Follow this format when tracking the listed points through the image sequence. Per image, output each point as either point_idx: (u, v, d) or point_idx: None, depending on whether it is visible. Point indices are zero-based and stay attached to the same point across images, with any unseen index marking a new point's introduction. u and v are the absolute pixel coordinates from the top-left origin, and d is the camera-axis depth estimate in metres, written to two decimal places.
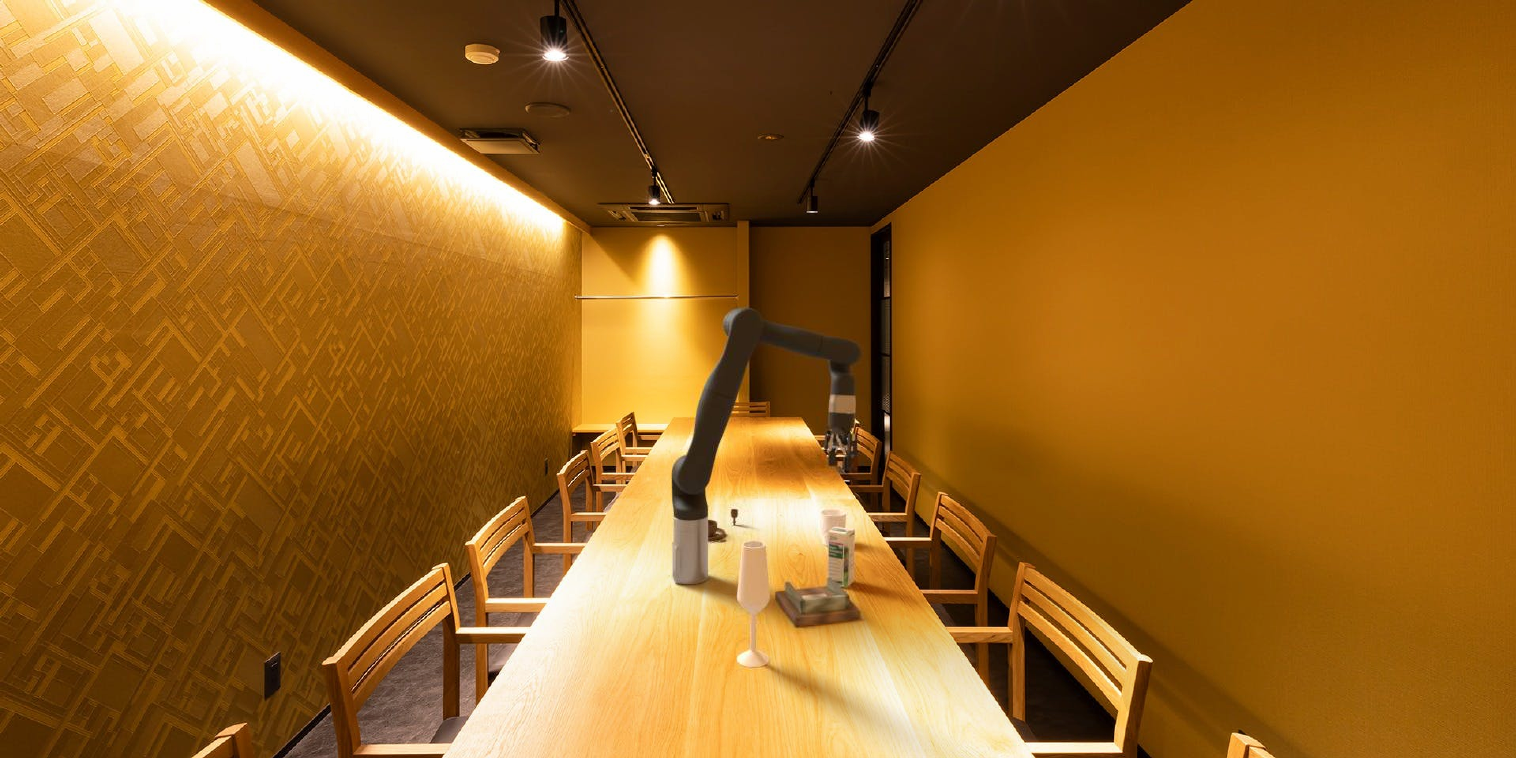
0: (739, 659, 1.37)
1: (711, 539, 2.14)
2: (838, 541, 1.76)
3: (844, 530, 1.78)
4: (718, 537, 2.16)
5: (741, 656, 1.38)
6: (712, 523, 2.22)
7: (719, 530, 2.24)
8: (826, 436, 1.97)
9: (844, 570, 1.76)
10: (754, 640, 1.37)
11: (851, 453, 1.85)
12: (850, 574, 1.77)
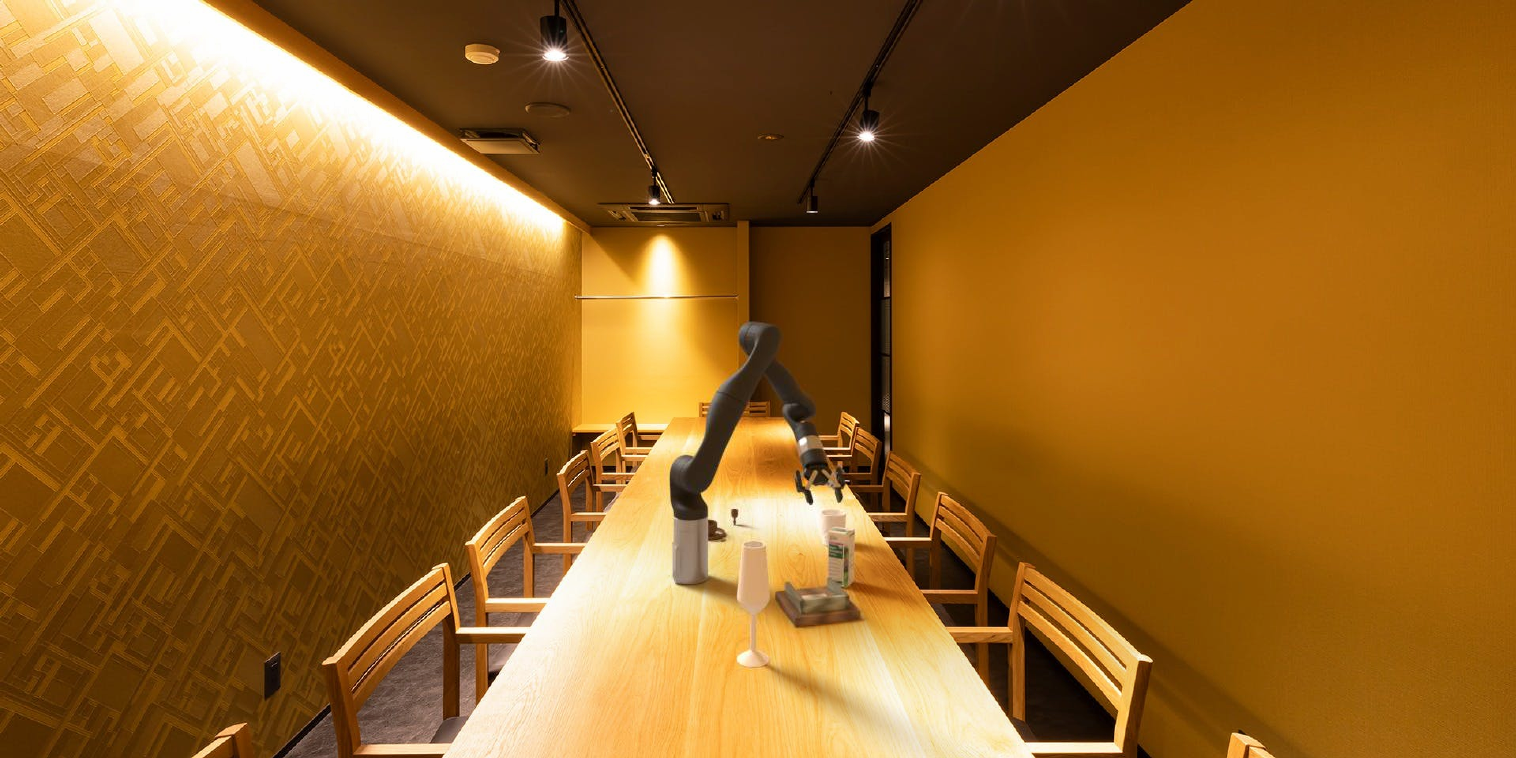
0: (739, 659, 1.37)
1: (711, 539, 2.15)
2: (838, 541, 1.76)
3: (844, 530, 1.78)
4: (718, 537, 2.16)
5: (741, 656, 1.38)
6: (712, 523, 2.23)
7: (719, 530, 2.24)
8: (799, 476, 1.92)
9: (844, 570, 1.76)
10: (754, 640, 1.37)
11: None
12: (850, 574, 1.77)
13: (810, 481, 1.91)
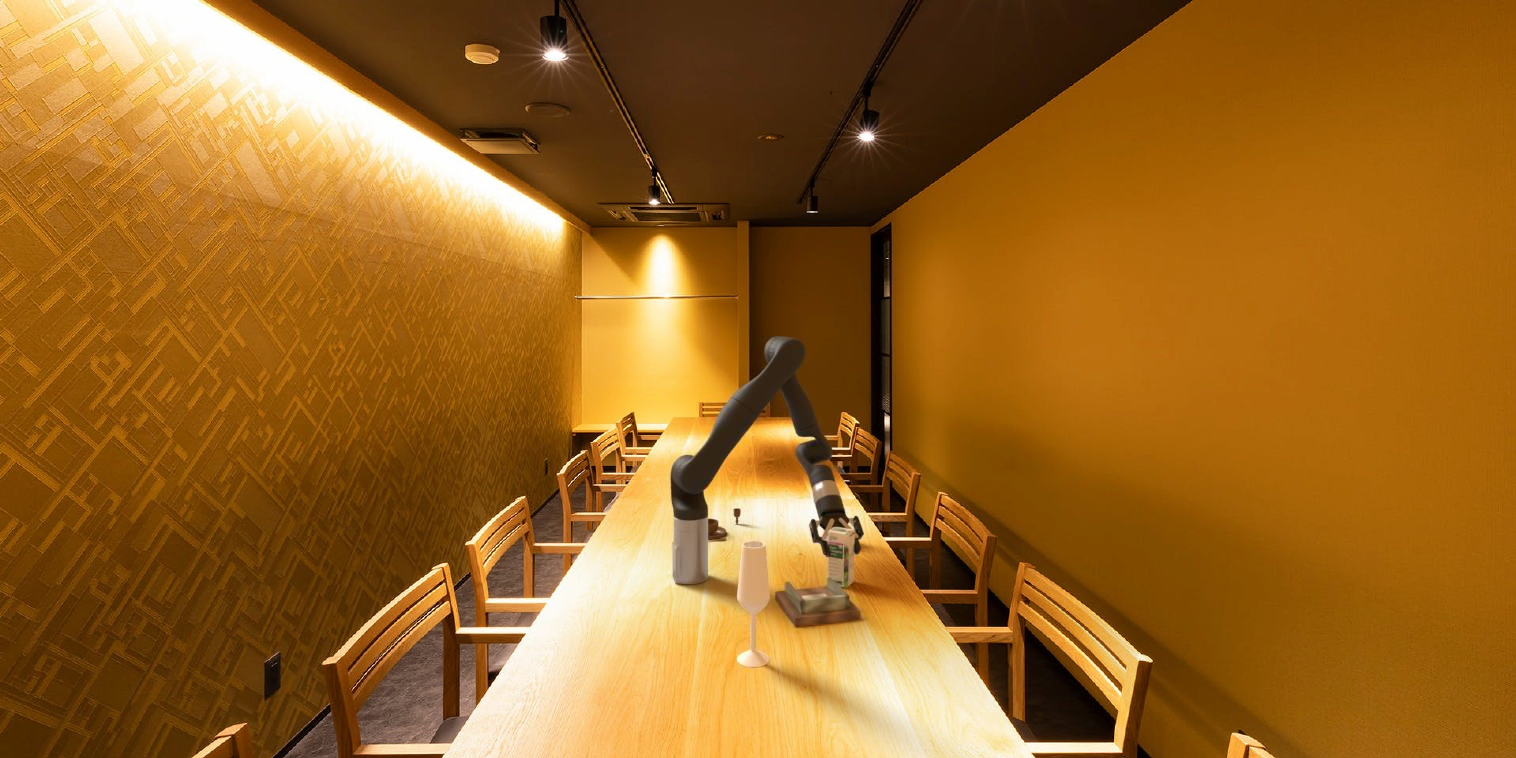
0: (739, 659, 1.37)
1: (711, 538, 2.15)
2: (838, 541, 1.76)
3: (844, 530, 1.78)
4: (719, 536, 2.17)
5: (741, 656, 1.38)
6: (714, 522, 2.23)
7: (721, 529, 2.25)
8: (815, 525, 1.80)
9: (845, 570, 1.75)
10: (754, 640, 1.37)
11: None
12: (850, 574, 1.77)
13: (827, 531, 1.79)
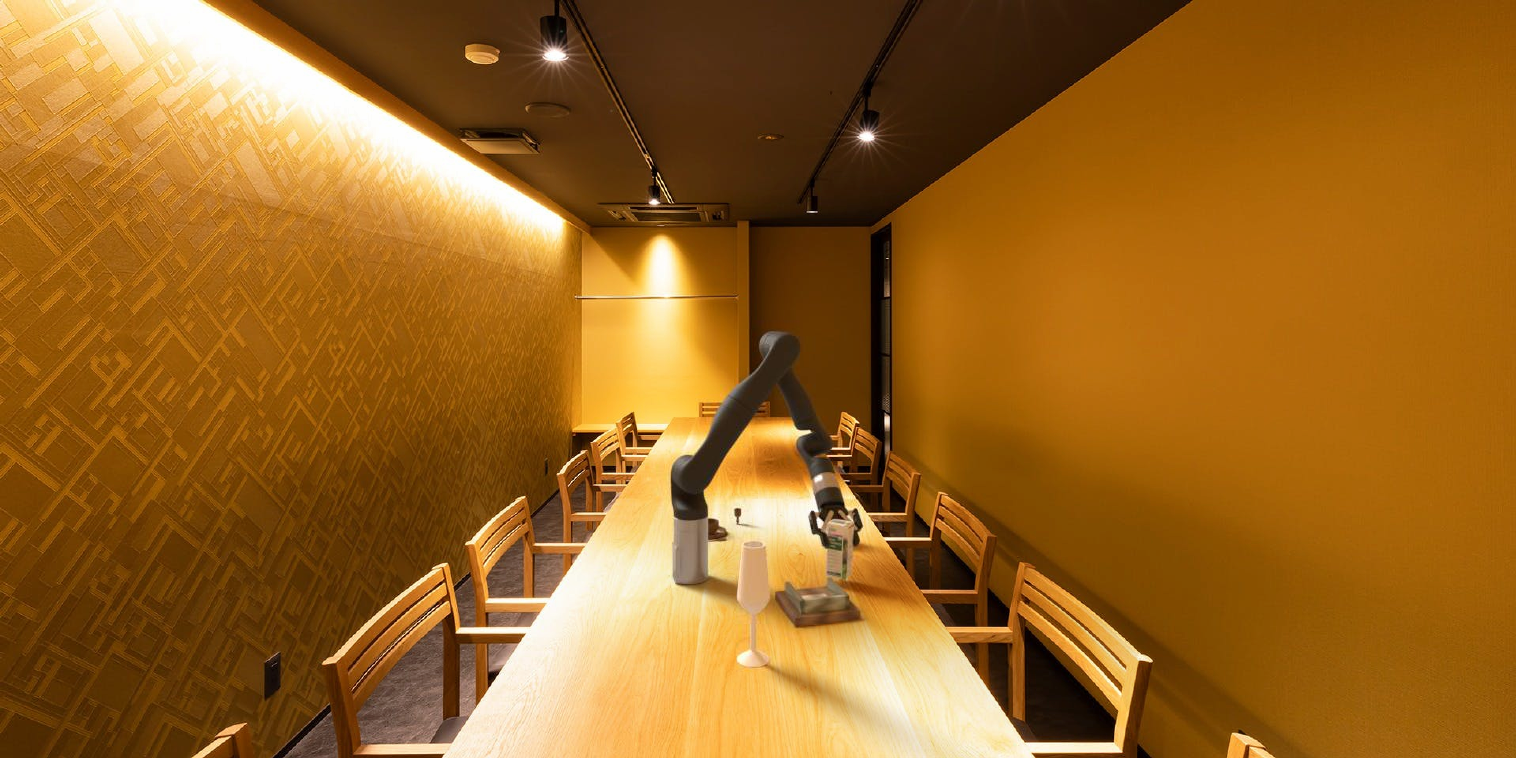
0: (739, 659, 1.37)
1: (712, 537, 2.16)
2: (837, 533, 1.76)
3: (843, 522, 1.78)
4: (719, 536, 2.17)
5: (741, 656, 1.38)
6: (714, 522, 2.24)
7: (721, 529, 2.25)
8: (814, 517, 1.80)
9: (843, 562, 1.75)
10: (754, 640, 1.37)
11: None
12: (848, 566, 1.77)
13: (826, 523, 1.79)
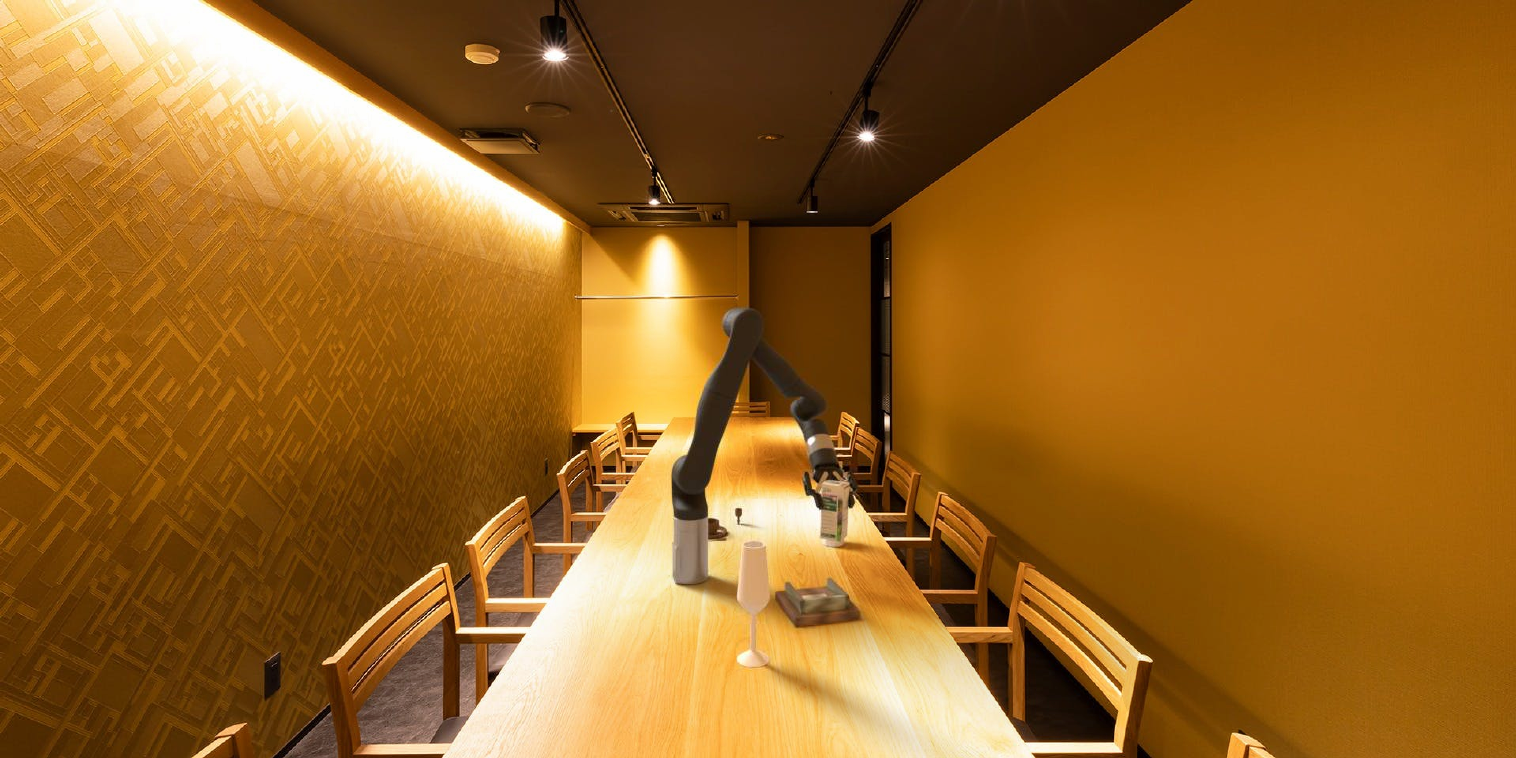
0: (739, 659, 1.37)
1: (712, 537, 2.16)
2: (832, 493, 1.71)
3: (838, 482, 1.73)
4: (719, 535, 2.17)
5: (741, 656, 1.38)
6: (715, 521, 2.24)
7: (722, 529, 2.25)
8: (808, 478, 1.75)
9: (838, 523, 1.70)
10: (754, 640, 1.37)
11: None
12: (843, 528, 1.72)
13: (820, 484, 1.74)
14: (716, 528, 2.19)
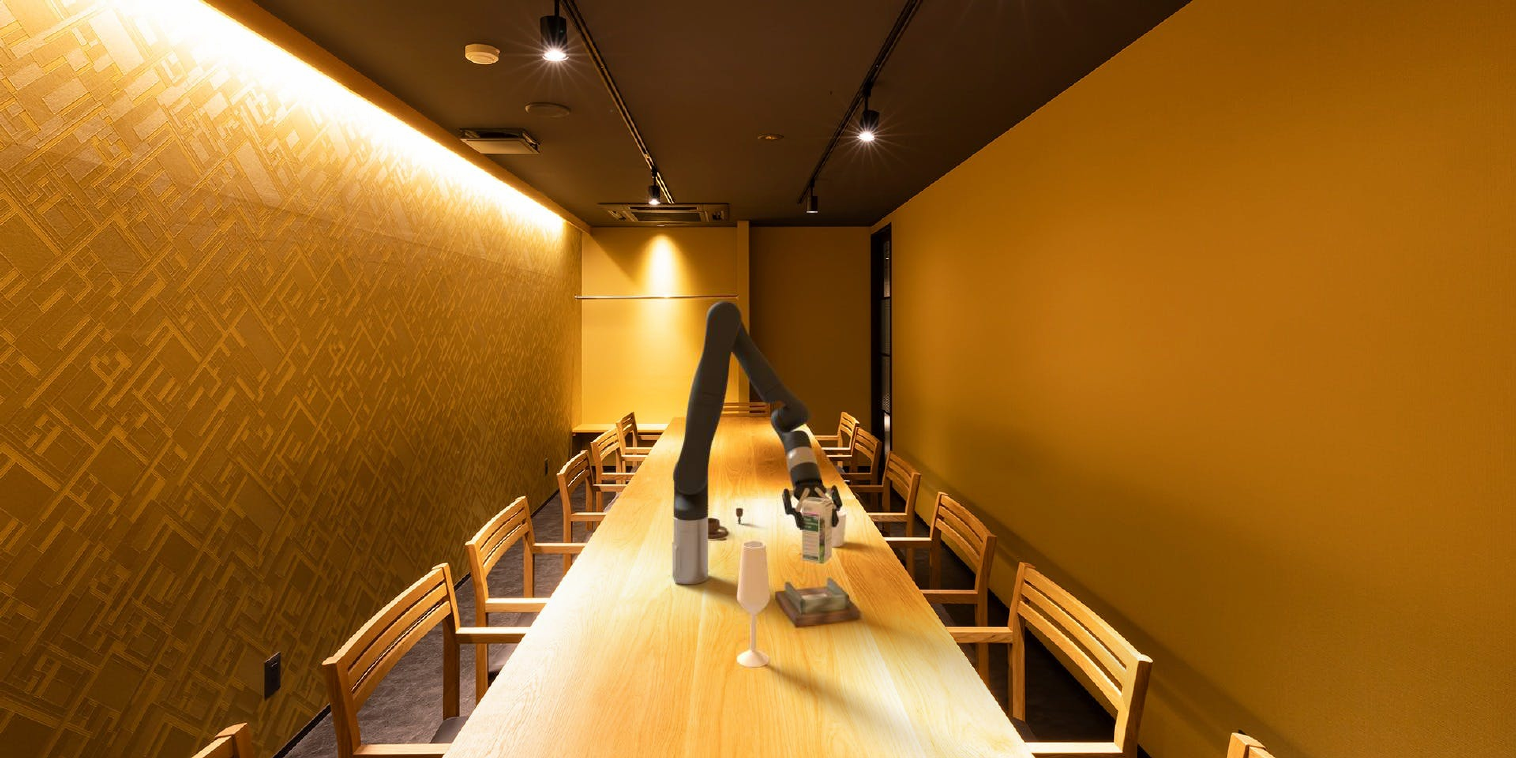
0: (739, 659, 1.37)
1: (712, 537, 2.16)
2: (813, 512, 1.58)
3: (820, 500, 1.60)
4: (719, 535, 2.18)
5: (741, 656, 1.38)
6: (715, 521, 2.24)
7: (722, 528, 2.25)
8: (788, 495, 1.63)
9: (820, 544, 1.58)
10: (754, 640, 1.37)
11: None
12: (826, 549, 1.60)
13: (801, 501, 1.62)
14: (716, 528, 2.20)
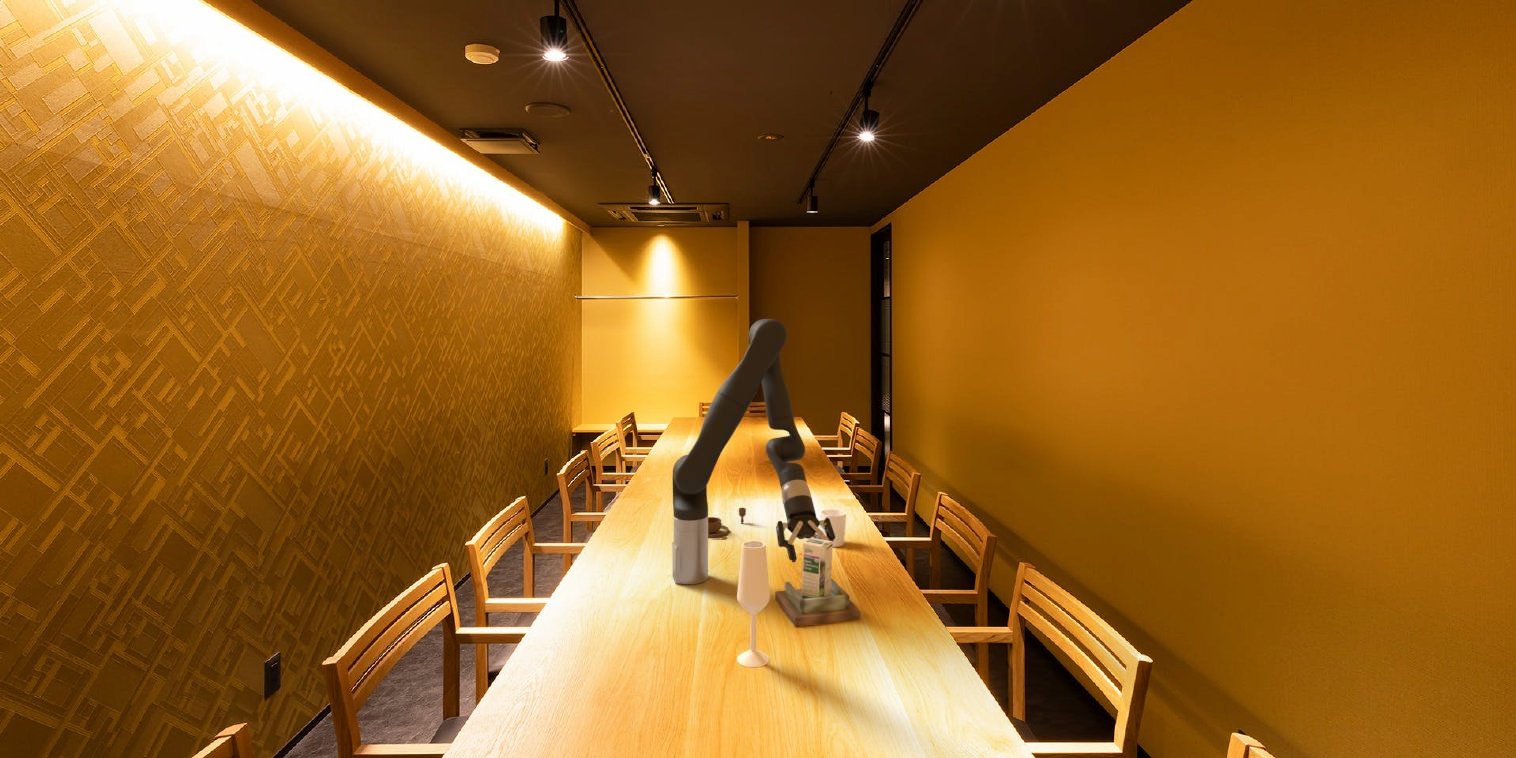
0: (739, 659, 1.37)
1: (713, 536, 2.17)
2: (814, 554, 1.59)
3: (821, 542, 1.61)
4: (720, 535, 2.18)
5: (741, 656, 1.38)
6: (717, 521, 2.25)
7: (724, 528, 2.26)
8: (781, 528, 1.67)
9: (820, 587, 1.59)
10: (754, 640, 1.37)
11: None
12: (826, 591, 1.61)
13: (794, 534, 1.66)
14: (718, 527, 2.21)
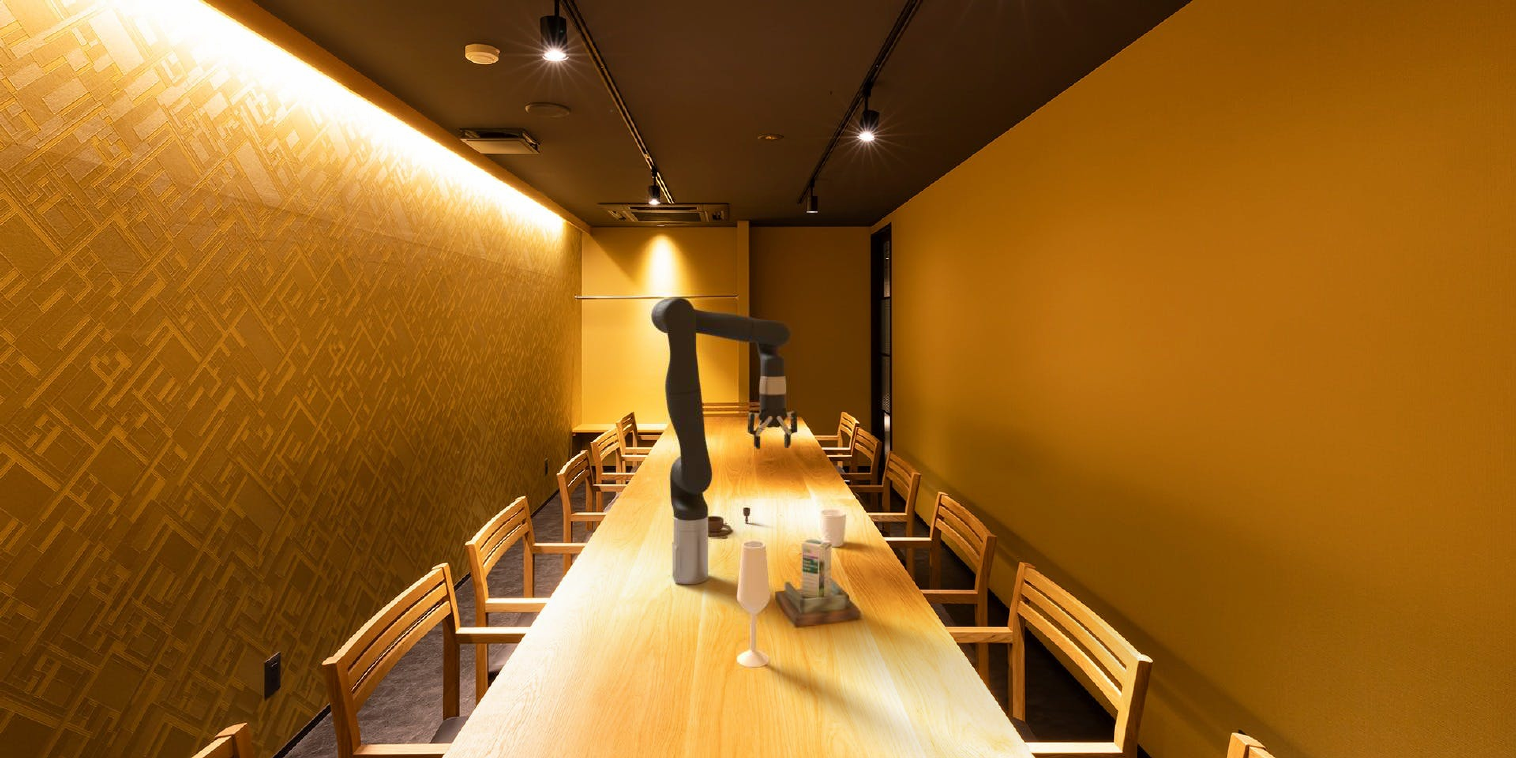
0: (739, 659, 1.37)
1: (714, 535, 2.18)
2: (812, 554, 1.59)
3: (819, 542, 1.61)
4: (721, 534, 2.19)
5: (741, 656, 1.38)
6: (720, 520, 2.26)
7: (727, 527, 2.27)
8: (753, 420, 1.90)
9: (820, 587, 1.59)
10: (754, 640, 1.37)
11: None
12: (826, 591, 1.61)
13: (762, 428, 1.91)
14: (719, 526, 2.22)
